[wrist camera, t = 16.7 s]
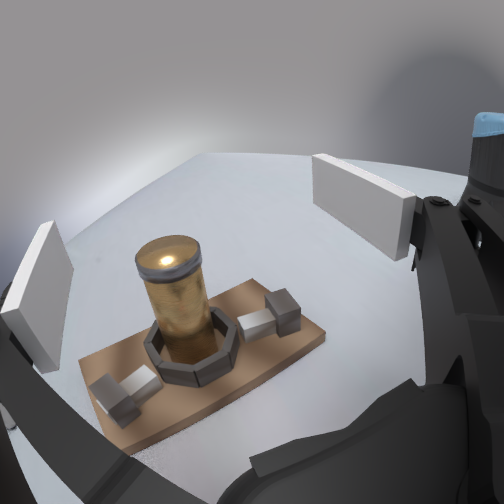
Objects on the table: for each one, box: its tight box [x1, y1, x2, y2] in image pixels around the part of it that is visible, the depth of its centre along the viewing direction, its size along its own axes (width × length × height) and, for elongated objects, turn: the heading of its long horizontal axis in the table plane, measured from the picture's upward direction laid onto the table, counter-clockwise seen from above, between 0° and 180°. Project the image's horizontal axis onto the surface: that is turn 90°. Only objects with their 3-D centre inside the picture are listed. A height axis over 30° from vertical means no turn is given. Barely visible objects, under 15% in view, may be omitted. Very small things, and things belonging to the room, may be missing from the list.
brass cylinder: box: [135, 235, 218, 365], centre depth 28 cm, size 5×5×12 cm
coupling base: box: [78, 278, 326, 456], centre depth 31 cm, size 24×13×5 cm, turn 126°
